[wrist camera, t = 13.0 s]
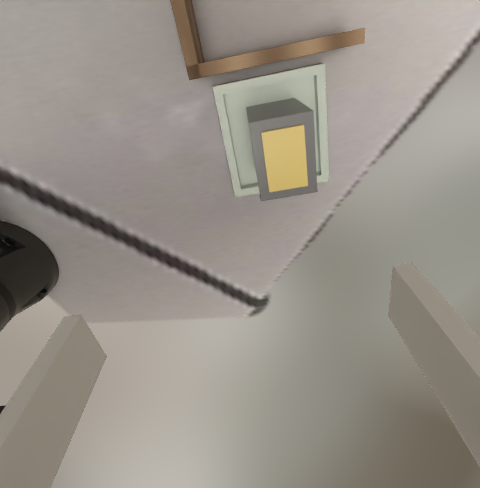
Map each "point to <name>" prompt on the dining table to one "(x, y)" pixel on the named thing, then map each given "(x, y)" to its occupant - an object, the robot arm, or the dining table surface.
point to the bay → (200, 69)
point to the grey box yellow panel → (283, 148)
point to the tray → (265, 91)
